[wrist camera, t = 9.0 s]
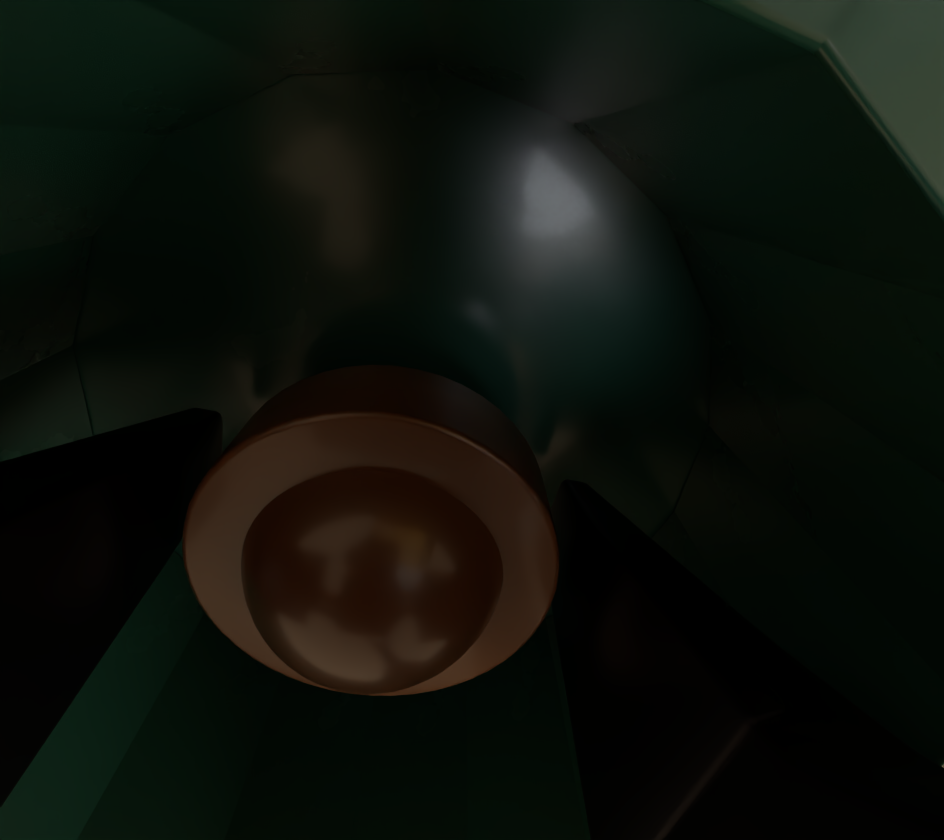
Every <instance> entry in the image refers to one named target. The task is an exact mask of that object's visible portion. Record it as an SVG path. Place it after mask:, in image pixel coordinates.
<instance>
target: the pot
mask: <svg viewBox="0 0 944 840" xmlns="http://www.w3.org/2000/svg"><path fill="white" fill-rule="evenodd" d="M361 365H394V366H401V367H407V368H413V369H419V370H423V371H426V372H430V373H433V374H437V375H440V376H443V377H445V378H448V379H450V380H452V381H455V382H457V383H460V384H462V385H464V386H466V387H467V388H469V389H471V390H473V391H474V392H476V393H478V394H479V395H481V396H483V397H484V398H485V399H487V400H488V401H489V402H491V403H492V404H493V405H495V406H496V407H497V408H499V409H500V410H501V411H502V412H503V413H504V414H505V415H506V416H507V417H508V418H509V419H510V420H511V421H512V422H513V423H514V424H515V426H516V427H517V428H518V430H519V431H520V432H521V434H522V435H523V436H524V438H525V439H526V440H527V442H528V444H529V446H530V448H531V450H532V451H533V453H534V455H535V457H536V460H537V463H538V465H539V468H540V471H541V474H542V478H543V482H544V486H545V490H546V494H547V498H548V502H549V506H550V510H551V507H552V505H553V502H554V499H555V497H556V494H557V492H558V489H559V486H560V484H561V483H562V481H564V480H566V479H569V480H575V481H580V482H584V483H586V484H588V485H589V486H590V487H591V488H592V489H594V490H595V491H596V492H597V493H598V494H599V495H601V496H602V497H603V498H604V499H605V500H606V501H608V502H609V503H610V504H611V505H612V506H614V507H615V508H616V509H617V510H618V511H619V512H621V513H622V514H623V515H624V516H625V517H626V518H628V519H629V520H630V521H631V522H632V523H634V524H635V525H636V526H637V527H638V528H639V529H641V530H642V531H643V532H644V533H645V534H646V535H648V536H649V537H650V538H651V539H652V540H654V541H655V542H656V543H657V544H658V545H659V546H661V547H662V548H663V549H664V550H665V551H667V552H668V553H669V554H670V555H671V556H672V557H674V558H675V559H676V560H677V561H678V562H679V563H681V564H682V565H683V566H684V567H685V568H687V569H688V570H689V571H690V572H691V573H692V574H694V575H695V576H696V577H697V578H698V579H700V580H701V581H702V582H703V583H704V584H705V585H707V586H708V587H709V588H710V589H711V590H712V591H714V592H715V593H716V594H717V595H718V596H720V597H721V598H722V599H723V600H724V601H725V602H726V604H727V606H731V607H733V608H734V609H735V610H736V611H737V612H739V613H740V614H741V615H742V616H743V617H744V618H746V619H747V620H748V621H749V622H750V623H751V624H753V625H754V626H755V627H756V628H758V629H759V630H760V631H761V632H762V633H764V634H765V635H766V636H767V637H768V638H770V639H771V640H772V641H773V642H775V643H776V644H777V645H778V646H779V647H781V648H782V649H783V650H785V651H786V652H787V653H788V654H790V655H791V656H792V657H794V658H795V659H796V660H797V661H799V662H800V663H801V664H803V665H804V666H805V667H806V668H808V669H809V670H810V671H812V672H813V673H814V674H815V675H817V676H818V677H819V678H821V679H822V680H823V681H825V682H826V683H827V684H829V685H830V686H831V687H832V688H834V689H835V690H836V691H838V692H839V693H840V694H842V695H843V696H844V697H846V698H847V699H848V700H850V701H851V702H852V703H853V704H855V705H856V706H857V707H859V708H860V709H861V710H863V711H864V712H865V713H867V714H868V715H869V716H871V717H872V718H873V719H875V720H876V721H877V722H878V723H880V724H881V725H882V726H884V727H885V728H886V729H888V730H889V731H890V732H892V733H893V734H894V735H896V736H897V737H898V738H899V739H901V740H902V741H903V742H905V743H906V744H907V745H909V746H910V747H912V748H913V749H915V750H916V751H917V752H919V753H920V754H922V755H923V756H925V757H926V758H928V759H930V760H931V761H933V762H935V763H936V764H938V765H939V766H941V767H943V768H944V0H0V462H2V461H5V460H9V459H13V458H16V457H20V456H23V455H27V454H30V453H34V452H38V451H41V450H45V449H48V448H52V447H55V446H59V445H63V444H66V443H70V442H73V441H77V440H80V439H84V438H88V437H91V436H95V435H98V434H102V433H105V432H109V431H113V430H116V429H120V428H123V427H127V426H131V425H134V424H138V423H141V422H145V421H148V420H152V419H156V418H159V417H163V416H166V415H170V414H173V413H177V412H181V411H184V410H188V409H191V408H201V409H207V410H212V411H216V412H219V413H220V414H221V416H222V421H223V428H222V453H223V452H224V450H225V449H226V448H227V447H228V445H229V444H230V443H231V442H232V440H233V439H234V438H235V437H236V435H237V434H238V433H239V432H240V430H241V429H242V428H243V427H244V426H245V424H246V423H247V422H248V421H249V419H250V418H251V417H252V416H253V415H254V414H255V413H256V412H257V411H258V410H259V409H260V408H261V407H262V406H263V405H264V404H265V403H266V402H267V401H268V400H270V399H271V398H272V397H274V396H275V395H276V394H278V393H279V392H281V391H282V390H283V389H285V388H287V387H289V386H291V385H293V384H295V383H297V382H299V381H300V380H302V379H305V378H308V377H311V376H313V375H316V374H319V373H322V372H325V371H329V370H334V369H339V368H343V367H350V366H361ZM182 539H183V538H182ZM182 539H181V541H180V543H179V544H178V546H177V547H176V549H175V550H174V552H173V553H172V555H171V556H170V558H169V559H168V561H167V562H166V564H165V565H164V567H163V568H162V570H161V571H160V573H159V574H158V576H157V577H156V579H155V580H154V582H153V583H152V584H151V586H150V587H149V589H148V590H147V592H146V593H145V595H144V596H143V598H142V599H141V601H140V602H139V604H138V605H137V607H136V608H135V610H134V611H133V613H132V614H131V616H130V617H129V619H128V620H127V621H126V623H125V624H124V626H123V627H122V629H121V630H120V632H119V633H118V635H117V636H116V638H115V639H114V641H113V642H112V644H111V645H110V647H109V648H108V650H107V651H106V653H105V654H104V656H103V657H102V658H101V660H100V661H99V663H98V664H97V666H96V667H95V669H94V670H93V672H92V673H91V675H90V676H89V678H88V679H87V681H86V682H85V684H84V685H83V687H82V688H81V690H80V691H79V693H78V694H77V695H76V697H75V698H74V700H73V701H72V703H71V704H70V706H69V707H68V709H67V710H66V712H65V713H64V715H63V716H62V718H61V719H60V721H59V722H58V724H57V725H56V727H55V728H54V730H53V731H52V733H51V734H50V735H49V737H48V738H47V740H46V741H45V743H44V744H43V746H42V747H41V749H40V750H39V752H38V753H37V755H36V756H35V758H34V759H33V761H32V762H31V764H30V765H29V767H28V768H27V770H26V771H25V772H24V774H23V775H22V777H21V778H20V780H19V781H18V783H17V784H16V786H15V787H14V789H13V790H12V792H11V793H10V795H9V796H8V798H7V799H6V801H5V802H4V804H3V805H2V807H1V808H0V840H591V838H590V832H589V826H588V820H587V814H586V808H585V802H584V796H583V790H582V784H581V779H580V773H579V767H578V761H577V755H576V749H575V743H574V737H573V731H572V725H571V719H570V713H569V707H568V701H567V695H566V689H565V683H564V677H563V671H562V665H561V660H560V654H559V648H558V642H557V636H556V630H555V624H554V618H553V612H552V605H551V606H550V608H549V610H548V612H547V614H546V616H545V618H544V620H543V622H542V623H541V625H540V626H539V627H538V629H537V630H536V631H535V633H534V634H533V635H532V637H531V638H530V639H529V640H528V641H527V642H526V643H525V644H524V645H523V646H522V647H521V648H520V649H519V650H518V651H517V652H515V653H514V654H513V655H512V656H510V657H509V658H508V659H506V660H505V661H504V662H502V663H501V664H499V665H497V666H496V667H494V668H493V669H491V670H489V671H488V672H486V673H483V674H481V675H479V676H477V677H475V678H473V679H471V680H468V681H465V682H462V683H460V684H457V685H454V686H451V687H447V688H443V689H439V690H435V691H430V692H424V693H418V694H411V695H397V696H370V695H359V694H349V693H344V692H338V691H332V690H328V689H324V688H320V687H316V686H313V685H309V684H306V683H303V682H301V681H298V680H295V679H292V678H290V677H287V676H285V675H283V674H281V673H279V672H277V671H274V670H272V669H270V668H268V667H267V666H265V665H263V664H262V663H260V662H258V661H257V660H255V659H253V658H252V657H250V656H249V655H248V654H246V653H245V652H243V651H242V650H241V649H239V648H238V647H237V646H235V645H234V644H233V643H232V642H231V641H230V640H229V639H228V638H227V637H226V636H224V635H223V634H222V633H221V632H220V631H219V629H218V628H217V627H216V626H215V625H214V624H213V623H212V621H211V620H210V619H209V618H208V616H207V615H206V613H205V612H204V610H203V609H202V607H201V606H200V604H199V603H198V601H197V599H196V597H195V595H194V593H193V591H192V588H191V586H190V584H189V581H188V578H187V574H186V571H185V567H184V561H183V551H182Z"/></svg>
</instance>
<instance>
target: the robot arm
mask: <svg viewBox="0 0 944 840" xmlns="http://www.w3.org/2000/svg"><path fill="white" fill-rule="evenodd" d="M222 428H223V421H222V416H221V414H220V413H219V412H216V411H212V410H207V409H201V408H191V409H188V410H184V411H181V412H177V413H173V414H170V415H166V416H163V417H159V418H156V419H152V420H148V421H145V422H141V423H138V424H134V425H131V426H127V427H123V428H120V429H116V430H113V431H109V432H105V433H102V434H98V435H95V436H91V437H88V438H84V439H80V440H77V441H73V442H70V443H66V444H63V445H59V446H55V447H52V448H48V449H45V450H41V451H38V452H34V453H30V454H27V455H23V456H20V457H16V458H13V459H9V460H5V461H2V462H0V808H1V807H2V805H3V804H4V802H5V801H6V799H7V798H8V796H9V795H10V793H11V792H12V790H13V789H14V787H15V786H16V784H17V783H18V781H19V780H20V778H21V777H22V775H23V774H24V772H25V771H26V770H27V768H28V767H29V765H30V764H31V762H32V761H33V759H34V758H35V756H36V755H37V753H38V752H39V750H40V749H41V747H42V746H43V744H44V743H45V741H46V740H47V738H48V737H49V735H50V734H51V733H52V731H53V730H54V728H55V727H56V725H57V724H58V722H59V721H60V719H61V718H62V716H63V715H64V713H65V712H66V710H67V709H68V707H69V706H70V704H71V703H72V701H73V700H74V698H75V697H76V695H77V694H78V693H79V691H80V690H81V688H82V687H83V685H84V684H85V682H86V681H87V679H88V678H89V676H90V675H91V673H92V672H93V670H94V669H95V667H96V666H97V664H98V663H99V661H100V660H101V658H102V657H103V656H104V654H105V653H106V651H107V650H108V648H109V647H110V645H111V644H112V642H113V641H114V639H115V638H116V636H117V635H118V633H119V632H120V630H121V629H122V627H123V626H124V624H125V623H126V621H127V620H128V619H129V617H130V616H131V614H132V613H133V611H134V610H135V608H136V607H137V605H138V604H139V602H140V601H141V599H142V598H143V596H144V595H145V593H146V592H147V590H148V589H149V587H150V586H151V584H152V583H153V582H154V580H155V579H156V577H157V576H158V574H159V573H160V571H161V570H162V568H163V567H164V565H165V564H166V562H167V561H168V559H169V558H170V556H171V555H172V553H173V552H174V550H175V549H176V547H177V546H178V544H179V543H180V541H181V539H182V538H183V525H184V520H185V516H186V513H187V509H188V505H189V503H190V501H191V498H192V496H193V494H194V492H195V490H196V488H197V486H198V484H199V483H200V482H201V480H202V479H203V477H204V476H205V475H206V473H207V472H208V470H209V469H210V468H211V466H212V465H213V464H214V463H215V461H216V460H217V459H218V458H219V457H220V455H221V454H222ZM551 514H552V518H553V522H554V526H555V530H556V534H557V540H558V545H559V550H560V572H559V578H558V584H557V589H556V592H555V595H554V597H553V600H552V603H551V605H552V612H553V618H554V624H555V630H556V636H557V642H558V648H559V654H560V660H561V665H562V671H563V677H564V683H565V689H566V695H567V701H568V707H569V713H570V719H571V725H572V731H573V737H574V743H575V749H576V755H577V761H578V767H579V773H580V779H581V784H582V790H583V796H584V802H585V808H586V814H587V820H588V826H589V832H590V838H591V840H944V768H943V767H941V766H939V765H938V764H936V763H935V762H933V761H931V760H930V759H928V758H926V757H925V756H923V755H922V754H920V753H919V752H917V751H916V750H915V749H913V748H912V747H910V746H909V745H907V744H906V743H905V742H903V741H902V740H901V739H899V738H898V737H897V736H896V735H894V734H893V733H892V732H890V731H889V730H888V729H886V728H885V727H884V726H882V725H881V724H880V723H878V722H877V721H876V720H875V719H873V718H872V717H871V716H869V715H868V714H867V713H865V712H864V711H863V710H861V709H860V708H859V707H857V706H856V705H855V704H853V703H852V702H851V701H850V700H848V699H847V698H846V697H844V696H843V695H842V694H840V693H839V692H838V691H836V690H835V689H834V688H832V687H831V686H830V685H829V684H827V683H826V682H825V681H823V680H822V679H821V678H819V677H818V676H817V675H815V674H814V673H813V672H812V671H810V670H809V669H808V668H806V667H805V666H804V665H803V664H801V663H800V662H799V661H797V660H796V659H795V658H794V657H792V656H791V655H790V654H788V653H787V652H786V651H785V650H783V649H782V648H781V647H779V646H778V645H777V644H776V643H775V642H773V641H772V640H771V639H770V638H768V637H767V636H766V635H765V634H764V633H762V632H761V631H760V630H759V629H758V628H756V627H755V626H754V625H753V624H751V623H750V622H749V621H748V620H747V619H746V618H744V617H743V616H742V615H741V614H740V613H739V612H737V611H736V610H735V609H734V608H733V607H731V606H727V604H726V602H725V601H724V600H723V599H722V598H721V597H720V596H718V595H717V594H716V593H715V592H714V591H712V590H711V589H710V588H709V587H708V586H707V585H705V584H704V583H703V582H702V581H701V580H700V579H698V578H697V577H696V576H695V575H694V574H692V573H691V572H690V571H689V570H688V569H687V568H685V567H684V566H683V565H682V564H681V563H679V562H678V561H677V560H676V559H675V558H674V557H672V556H671V555H670V554H669V553H668V552H667V551H665V550H664V549H663V548H662V547H661V546H659V545H658V544H657V543H656V542H655V541H654V540H652V539H651V538H650V537H649V536H648V535H646V534H645V533H644V532H643V531H642V530H641V529H639V528H638V527H637V526H636V525H635V524H634V523H632V522H631V521H630V520H629V519H628V518H626V517H625V516H624V515H623V514H622V513H621V512H619V511H618V510H617V509H616V508H615V507H614V506H612V505H611V504H610V503H609V502H608V501H606V500H605V499H604V498H603V497H602V496H601V495H599V494H598V493H597V492H596V491H595V490H594V489H592V488H591V487H590V486H589V485H588V484H586V483H584V482H580V481H575V480H569V479H566V480H564V481H562V483H561V484H560V486H559V489H558V492H557V494H556V497H555V499H554V502H553V505H552V507H551Z"/></svg>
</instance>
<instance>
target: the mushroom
mask: <svg viewBox="0 0 944 840" xmlns="http://www.w3.org/2000/svg"><path fill="white" fill-rule="evenodd" d="M182 551H183V561H184V567H185V571H186V574H187V578H188V581H189V584H190V586H191V588H192V591H193V593H194V595H195V597H196V599H197V601H198V603H199V604H200V606H201V607H202V609H203V610H204V612H205V613H206V615H207V616H208V618H209V619H210V620H211V621H212V623H213V624H214V625H215V626H216V627H217V628H218V629H219V631H220V632H221V633H222V634H223V635H224V636H226V637H227V638H228V639H229V640H230V641H231V642H232V643H233V644H234V645H235V646H237V647H238V648H239V649H241V650H242V651H243V652H245V653H246V654H248V655H249V656H250V657H252V658H253V659H255V660H257V661H258V662H260V663H262V664H263V665H265V666H267V667H268V668H270V669H272V670H274V671H277V672H279V673H281V674H283V675H285V676H287V677H290V678H292V679H295V680H298V681H301V682H303V683H306V684H309V685H313V686H316V687H320V688H324V689H328V690H332V691H338V692H344V693H349V694H359V695H370V696H397V695H411V694H418V693H424V692H430V691H435V690H439V689H443V688H447V687H451V686H454V685H457V684H460V683H462V682H465V681H468V680H471V679H473V678H475V677H477V676H479V675H481V674H483V673H486V672H488V671H489V670H491V669H493V668H494V667H496V666H497V665H499V664H501V663H502V662H504V661H505V660H506V659H508V658H509V657H510V656H512V655H513V654H514V653H515V652H517V651H518V650H519V649H520V648H521V647H522V646H523V645H524V644H525V643H526V642H527V641H528V640H529V639H530V638H531V637H532V635H533V634H534V633H535V631H536V630H537V629H538V627H539V626H540V625H541V623H542V622H543V620H544V618H545V616H546V614H547V612H548V610H549V608H550V606H551V603H552V600H553V597H554V595H555V592H556V589H557V584H558V578H559V572H560V550H559V545H558V540H557V534H556V530H555V526H554V522H553V518H552V514H551V510H550V506H549V502H548V498H547V494H546V490H545V486H544V482H543V478H542V474H541V471H540V468H539V465H538V463H537V460H536V457H535V455H534V453H533V451H532V450H531V448H530V446H529V444H528V442H527V440H526V439H525V438H524V436H523V435H522V434H521V432H520V431H519V430H518V428H517V427H516V426H515V424H514V423H513V422H512V421H511V420H510V419H509V418H508V417H507V416H506V415H505V414H504V413H503V412H502V411H501V410H500V409H499V408H497V407H496V406H495V405H493V404H492V403H491V402H489V401H488V400H487V399H485V398H484V397H483V396H481V395H479V394H478V393H476V392H474V391H473V390H471V389H469V388H467V387H466V386H464V385H462V384H460V383H457V382H455V381H452V380H450V379H448V378H445V377H443V376H440V375H437V374H433V373H430V372H426V371H423V370H419V369H413V368H407V367H401V366H394V365H361V366H350V367H343V368H339V369H334V370H329V371H325V372H322V373H319V374H316V375H313V376H311V377H308V378H305V379H302V380H300V381H299V382H297V383H295V384H293V385H291V386H289V387H287V388H285V389H283V390H282V391H281V392H279V393H278V394H276V395H275V396H274V397H272V398H271V399H270V400H268V401H267V402H266V403H265V404H264V405H263V406H262V407H261V408H260V409H259V410H258V411H257V412H256V413H255V414H254V415H253V416H252V417H251V418H250V419H249V421H248V422H247V423H246V424H245V426H244V427H243V428H242V429H241V430H240V432H239V433H238V434H237V435H236V437H235V438H234V439H233V440H232V442H231V443H230V444H229V445H228V447H227V448H226V449H225V450H224V452H223V453H222V454H221V455H220V457H219V458H218V459H217V460H216V461H215V463H214V464H213V465H212V466H211V468H210V469H209V470H208V472H207V473H206V475H205V476H204V477H203V479H202V480H201V482H200V483H199V484H198V486H197V488H196V490H195V492H194V494H193V496H192V498H191V501H190V503H189V505H188V509H187V513H186V516H185V520H184V525H183V539H182Z"/></svg>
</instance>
